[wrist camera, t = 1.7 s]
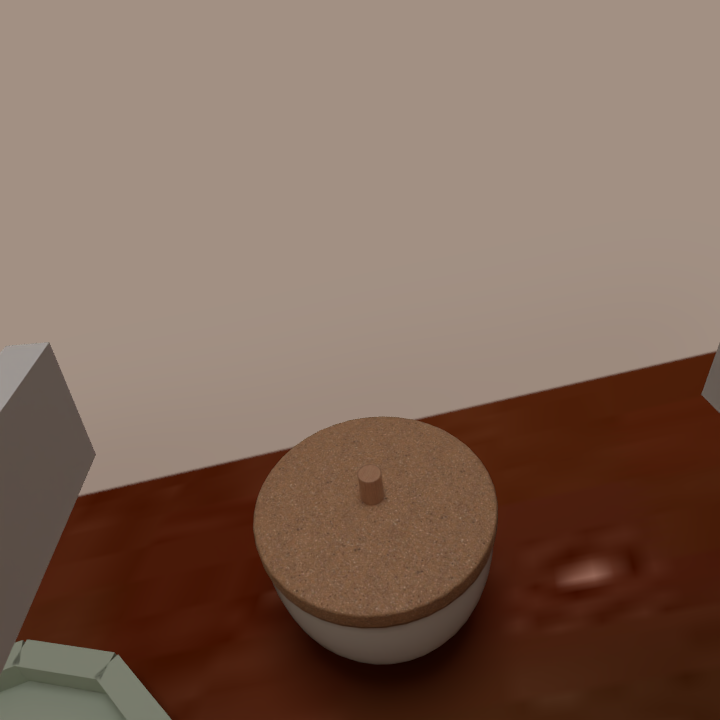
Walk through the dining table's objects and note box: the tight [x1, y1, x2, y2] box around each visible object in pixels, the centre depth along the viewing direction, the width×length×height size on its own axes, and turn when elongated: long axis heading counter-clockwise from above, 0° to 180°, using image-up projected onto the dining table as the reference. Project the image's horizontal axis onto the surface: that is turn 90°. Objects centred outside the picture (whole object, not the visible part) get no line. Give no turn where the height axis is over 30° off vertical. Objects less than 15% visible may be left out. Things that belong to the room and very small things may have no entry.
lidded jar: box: [253, 417, 498, 665], centre depth 27 cm, size 11×11×9 cm
